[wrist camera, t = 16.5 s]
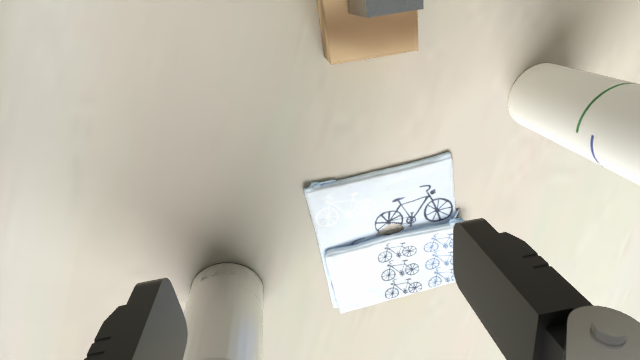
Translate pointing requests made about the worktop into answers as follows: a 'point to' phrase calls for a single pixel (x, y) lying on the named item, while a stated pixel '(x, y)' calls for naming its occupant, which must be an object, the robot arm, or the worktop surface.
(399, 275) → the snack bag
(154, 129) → the worktop surface
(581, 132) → the cylindrical container
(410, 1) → the aluminium block
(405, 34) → the oak ledge
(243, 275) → the robot arm
